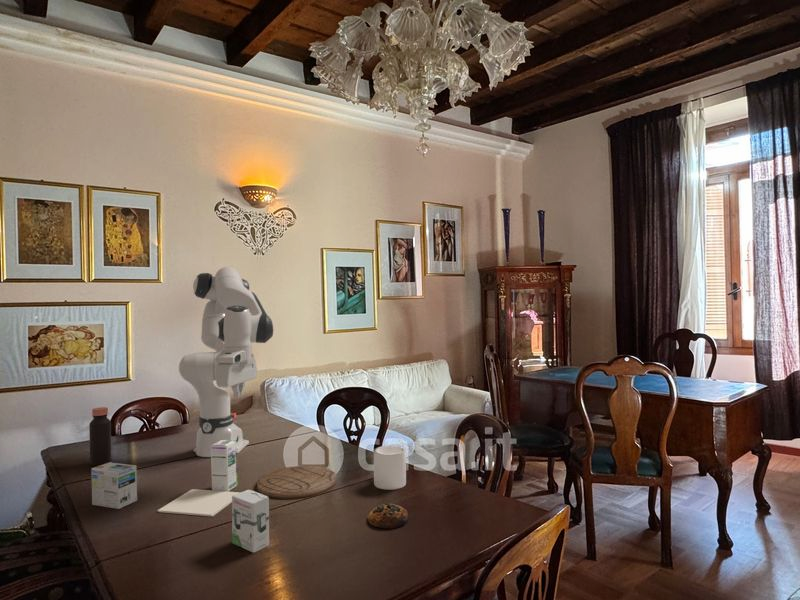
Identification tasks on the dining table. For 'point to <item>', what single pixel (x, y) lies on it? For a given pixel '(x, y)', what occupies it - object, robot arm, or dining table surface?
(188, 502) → the mat
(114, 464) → the light bulb box
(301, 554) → the dining table surface
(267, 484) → the trivet
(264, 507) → the ink box
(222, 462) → the syrup box
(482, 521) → the dining table surface
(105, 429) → the bottle
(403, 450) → the mug
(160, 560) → the dining table surface
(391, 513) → the bread roll
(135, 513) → the dining table surface
